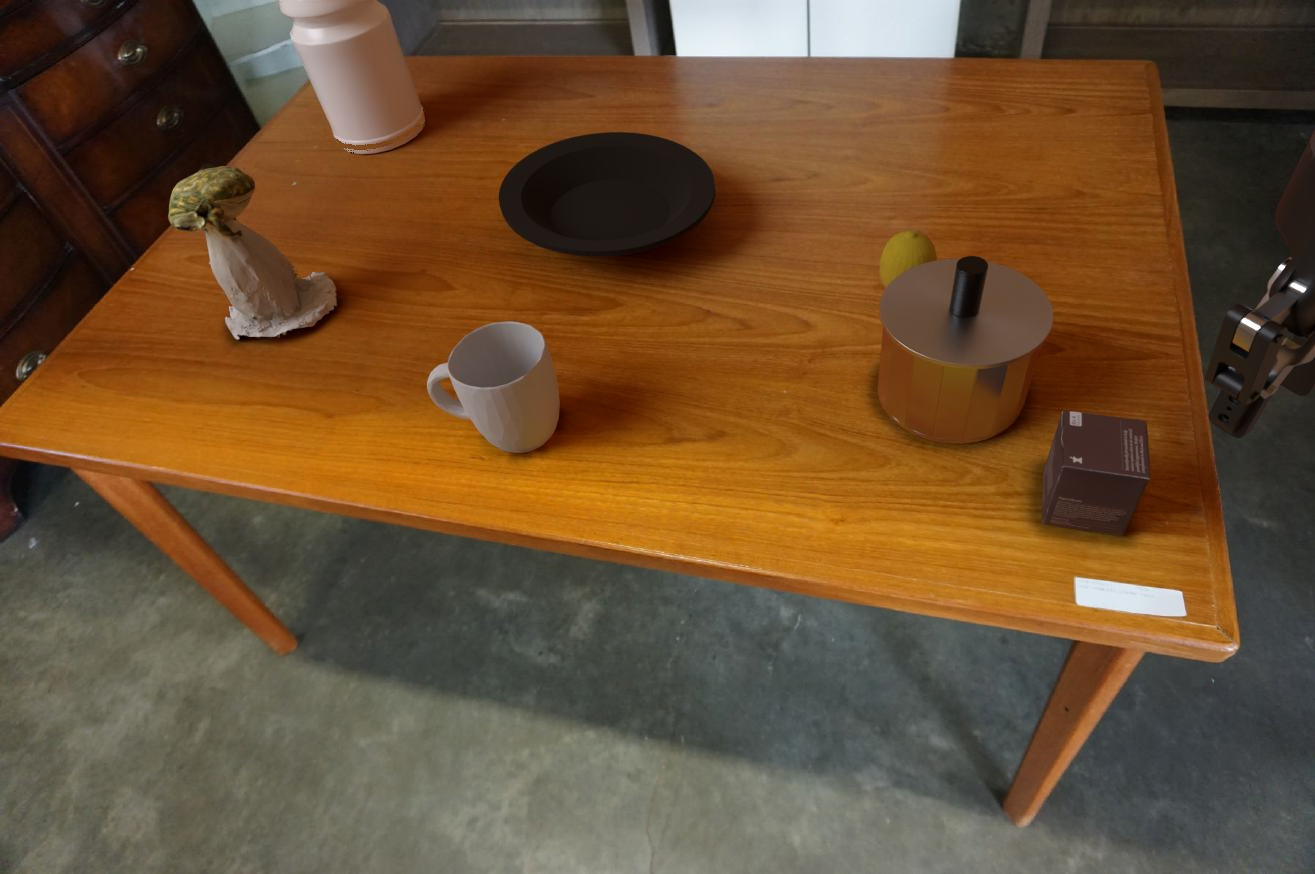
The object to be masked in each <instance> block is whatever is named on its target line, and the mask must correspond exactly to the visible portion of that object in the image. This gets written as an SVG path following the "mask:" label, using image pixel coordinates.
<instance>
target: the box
mask: <svg viewBox="0 0 1315 874" xmlns="http://www.w3.org/2000/svg"><path fill="white" fill-rule="evenodd" d="M1147 424H1148V423H1147V420H1144V419H1137V418H1129V417H1128V418H1127V417H1121V416H1120V417H1119V416H1111V415H1103V414H1096V413H1089V412H1080V411H1069V410H1062V411H1061V412H1060V417H1059V420H1058V423H1057V427H1056V430H1055V432H1054V435H1053V439H1052V443H1051V446H1050V448H1049V452H1048V455H1047V458H1046V461H1045V464H1044V466H1043V470H1042V493H1041V494H1042V495H1041V523H1042V524H1043V525H1049V526H1055V527H1062V528H1068V529H1075V530H1081V531H1086V532H1087V531H1088V532H1093V533H1097V534H1098V533H1099V534H1105V535H1111V536H1118V537H1123V536H1124V535H1125V533H1126V530H1127V528H1128V526H1129V524H1130V522H1131V520H1132V518H1133V515H1134V513H1135V511H1136V509H1137V508H1138V504H1139V503H1140V500H1141V498H1142V497H1143V494H1144V492H1145V491H1146V487H1147V485H1148V483H1149V482H1150V480H1151V460H1150V448H1149V433H1148V425H1147Z"/></svg>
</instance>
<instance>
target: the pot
mask: <svg viewBox="0 0 1315 874" xmlns="http://www.w3.org/2000/svg"><path fill="white" fill-rule="evenodd" d="M1041 347H1042V345H1041V346H1040V347H1039V348H1038V349H1037V350H1036V351H1035V352H1033V353H1032V354H1030V355H1029V356H1027V357H1025V358H1023V359H1021V360H1019V361H1017V362H1014V363H1011V364H1008V365H1004V366H1000V367H996V368H988V369H957V368H949V367H945V366H940V365H936V364H933V363H930V362H926V361H924V360H922V359H919V358H917V357H915V356H913V355H911V354H909V353H908V352H906V351H905V350H903V349H902V348H900V347H899V346H898V345H897V344H896V343H895V342H893V341H892V339H891V338H890V337H889V336H888V335H887V333H886V332H885V330H884V328H883V327H882V337H881V345H880V357H879V367H878V368H879V369H878V378H877V388H876V390H877V395H878V400H879V403H880V405H881V407H882V409H883V410H884V412H885V414H887V416H888V418H890V419H891V420H892V421H893V422H894V423H895V424H896V425H898V426H899V427H900V428H901V429H903V430H905V431H906V432H908V433H910V434H912V435H915V436H916V437H919V438H922V439H925V440H927V441H932V442H936V443H942V444H952V445H953V444H954V445H957V444H958V445H962V444H963V445H964V444H972V443H978V442H982V441H986V440H989V439H991V438H994V437H996V436H998V435H1000V434H1003V432H1005V431H1007V430H1008V429H1009V428H1010V427H1011V426H1012V425H1013V424H1014V423H1015V422H1016V421H1017V420H1018V418H1019V416H1020V414H1021V412H1022V409H1023V407H1024V406H1025V403H1026V401H1027V397H1028V392H1029V389H1030V387H1031V382H1032V379H1033V376H1034V372H1035V368H1036V365H1037V361H1038V358H1039V354H1040V351H1041Z"/></svg>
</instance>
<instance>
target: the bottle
mask: <svg viewBox="0 0 1315 874" xmlns="http://www.w3.org/2000/svg"><path fill="white" fill-rule="evenodd" d="M278 7H279V9H280V12H281V14H282V15H284V16H286V17H288V18H290V19H291V20H293V24H292V27H291V29H290V32H289V37H290V40H291V42H292V45H293V47H294V49H295V50H296V53H297V55H298V57H299V59H300V61H301V64H302V66H303V68H304V70H305V72H306V75H307V77H308V79H309V81H310V83H311V86H312V88H313V90H314V92H315V95H316V97H317V99H318V101H319V103H320V106H321V108H322V111H323V112H324V115H325V117H326V119H327V122H328V124H329V126H330V128H331V132H332V135H333V137H334V139H335V138H336V139H338V140H339V141H341V142H342V143H344V144H345V143H346V144H352V145H355V146H356V145H365V144H366V145H367V144H376V143H380V142H383V141H388V140H390V139H393V138H396V137H397V136H400V135H402V134H403V133H406V132H407V131H409V130H410V129H411V128H413V127H414V126H415V125H416V124H417V123H418V122H419V120H420V119H421V118H422V114H423V109H424V107H423V105H422V103H421V100H420V97H419V95H418V92H417V89H416V86H415V84H414V81H413V77H412V74H411V72H410V68H409V66H408V63H407V61H406V57H405V54H404V52H403V49H402V46H401V44H400V43H401V42H400V40H399V37H398V35H397V31H396V29H395V25H394V22H393V20H392V16H391V13H390V11H389V9H388V7H387V6H386V5H385V4H383V3H381V2H379V1H378V0H278ZM422 125H423V124H422ZM425 126H426V123H425V124H424V126H423V127H424V128H425ZM423 127H422V126H421V127H419V128H420V129H418V130H417V131H416V132H414V134H411V135H410V136H408V137H406V138H405V139H403V140H401V141H398V142H396V143H393V144H391V145H388V146H384V147H380V148H376V149H367V150H368V151H367V150H354V149H348V148H347V149H345V148H344V149H343V150H344V151H346V150H347V151H346V152H348V153H350V152H352V153H351V154H357V155H368V154H369V155H370V154H371V155H372V154H379V153H383V152H386V151H391V150H393V149H395V148H398V147H400V146H403V145H405V144H407V143H408V142H410V141H411V140H413V139H414V138H416V137H418V135H419V134H420V133H421V132H422V131H423V129H424V128H423ZM421 128H423V129H421ZM419 131H420V132H419ZM415 133H416V134H415ZM418 133H419V134H418ZM336 139H335V140H336ZM348 150H349V151H348ZM350 150H352V151H350ZM353 150H354V151H353ZM369 150H370V151H369ZM353 152H354V153H353Z"/></svg>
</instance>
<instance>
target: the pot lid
mask: <svg viewBox="0 0 1315 874" xmlns="http://www.w3.org/2000/svg"><path fill="white" fill-rule="evenodd" d="M878 308H879V310H878V315H879V320H880V323H881V326H882V329H883V328H884V330H885V332H886V333H887V335H888V336H889V337H890V338H891V339H892V341H893V342H895V343H896V344H897V345H898V346H899V347H900V348H902V349H903V350H905V351H906V352H908V353H909V354H911V355H913V356H915V357H917V358H919V359H922V360H924V361H926V362H930V363H933V364H936V365H940V366H945V367H949V368H957V369H988V368H996V367H1000V366H1004V365H1008V364H1011V363H1014V362H1017V361H1019V360H1021V359H1023V358H1025V357H1027V356H1029V355H1030V354H1032V353H1033V352H1035V351H1036V350H1037V349H1038V348H1039V347H1040V346H1041V347H1042V345H1043V344H1044V343H1045V342H1046V340H1047V339H1048V337H1049V335H1050V333H1051V330H1052V327H1053V323H1054V309H1053V306H1052V304H1051V301H1050V299H1049V297H1048V295H1047V294H1046V292H1044V289H1042V288H1041V287H1040V285H1038V284H1037V283H1036V282H1035V281H1034V280H1032V279H1031V278H1030V277H1028V276H1027V275H1025V274H1023V273H1021V272H1019V271H1018V270H1015V269H1013V268H1011V267H1009V266H1005V265H1003V264H1000V263H995V262H991V261H987V260H986V259H984V258H983V257H980V256H978V255H977V256H976V255H967V256H963V257H961V258H944V259H937V261H932V262H928V263H924V264H921V265H918V266H915V267H913V268H911V269H908V270H907V271H905V272H903V273H901V274H900V275H899V276H897V277H896V278H895V279H894V280H893V281H892V282H891V283H890V284H889V285H888V286H887V288H885V289H884V291H883V293H882V295H881V296H880V301H879V307H878ZM1041 347H1040V348H1041Z"/></svg>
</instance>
